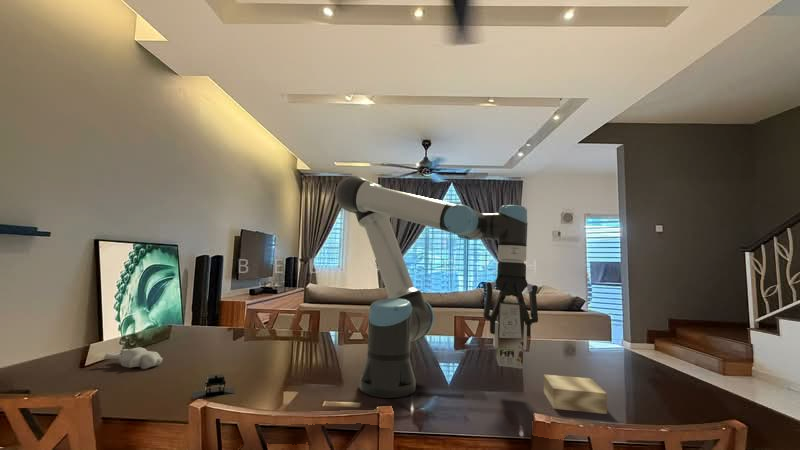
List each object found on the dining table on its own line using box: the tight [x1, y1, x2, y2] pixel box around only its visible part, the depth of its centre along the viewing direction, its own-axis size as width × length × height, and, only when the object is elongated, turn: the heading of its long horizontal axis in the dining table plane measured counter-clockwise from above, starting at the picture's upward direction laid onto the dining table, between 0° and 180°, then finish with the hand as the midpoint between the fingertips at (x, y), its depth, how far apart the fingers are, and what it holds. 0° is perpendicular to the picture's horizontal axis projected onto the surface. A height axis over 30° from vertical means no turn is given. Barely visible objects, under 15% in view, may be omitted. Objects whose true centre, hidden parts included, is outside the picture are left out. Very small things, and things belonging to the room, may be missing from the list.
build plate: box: [192, 373, 236, 400], centre depth 92 cm, size 12×7×5 cm, turn 119°
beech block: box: [543, 374, 608, 415], centre depth 94 cm, size 12×12×5 cm
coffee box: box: [495, 300, 526, 369], centre depth 99 cm, size 9×6×16 cm
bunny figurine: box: [103, 347, 164, 370], centre depth 112 cm, size 10×5×15 cm
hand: (509, 347), depth 99 cm, fingers closed on coffee box, 7 cm apart
